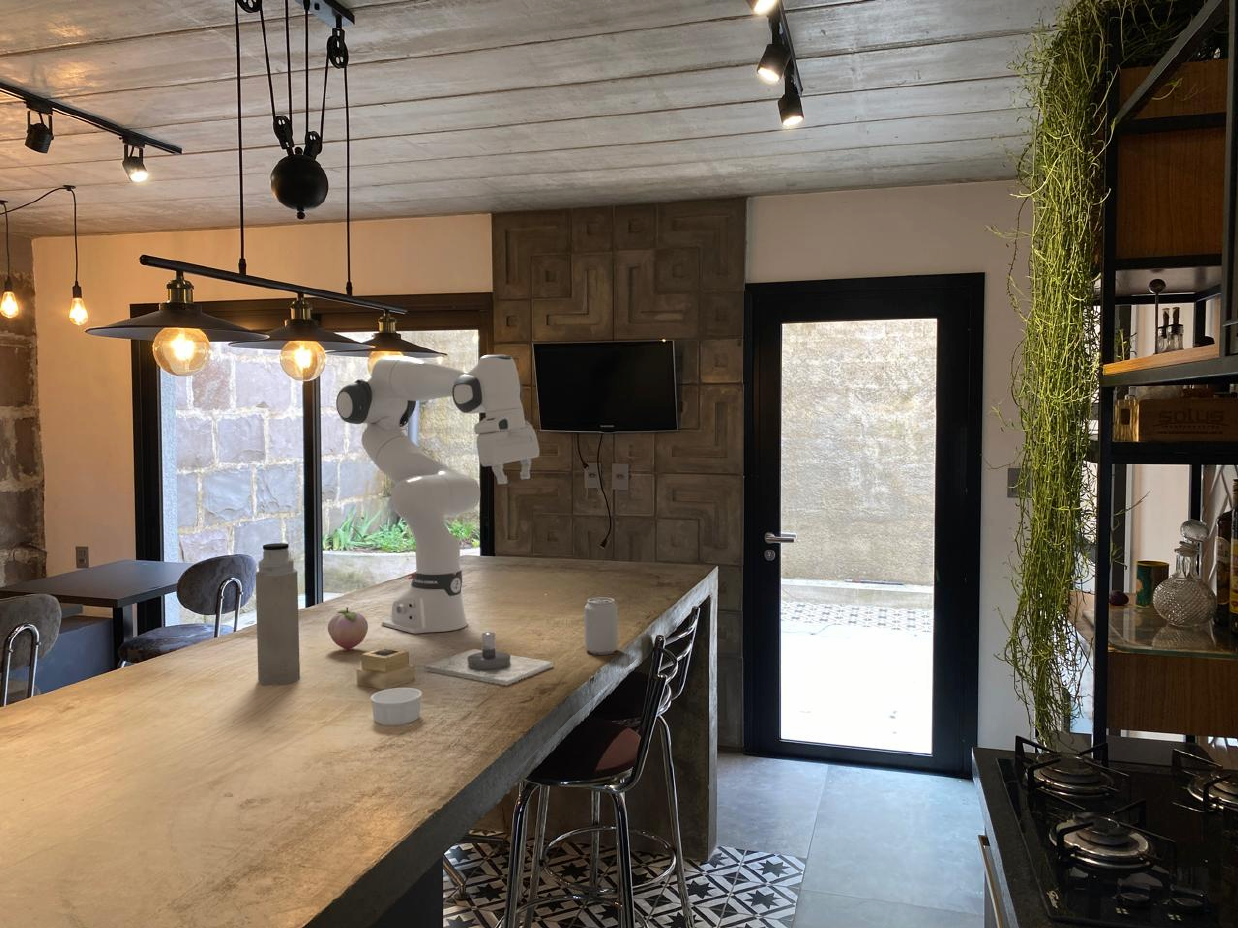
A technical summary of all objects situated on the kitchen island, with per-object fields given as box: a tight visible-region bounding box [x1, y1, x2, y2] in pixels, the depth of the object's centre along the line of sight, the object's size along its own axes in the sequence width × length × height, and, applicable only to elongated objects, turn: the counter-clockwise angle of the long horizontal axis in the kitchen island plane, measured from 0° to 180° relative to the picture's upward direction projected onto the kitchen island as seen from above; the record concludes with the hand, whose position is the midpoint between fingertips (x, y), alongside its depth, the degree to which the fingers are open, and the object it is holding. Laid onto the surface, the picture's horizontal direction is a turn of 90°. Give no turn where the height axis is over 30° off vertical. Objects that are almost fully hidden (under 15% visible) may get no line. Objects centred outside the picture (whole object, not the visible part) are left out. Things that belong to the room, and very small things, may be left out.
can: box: [584, 596, 619, 656], centre depth 205 cm, size 8×8×12 cm
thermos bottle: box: [255, 542, 301, 686], centre depth 184 cm, size 8×8×28 cm
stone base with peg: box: [423, 631, 554, 687], centre depth 192 cm, size 22×16×8 cm
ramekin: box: [370, 687, 423, 726], centre depth 160 cm, size 9×9×4 cm
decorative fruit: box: [327, 606, 369, 651], centre depth 208 cm, size 9×8×10 cm
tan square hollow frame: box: [361, 646, 410, 673], centre depth 182 cm, size 7×7×3 cm
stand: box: [356, 649, 416, 690], centre depth 182 cm, size 8×8×6 cm
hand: (514, 481), depth 211 cm, fingers open, 8 cm apart
